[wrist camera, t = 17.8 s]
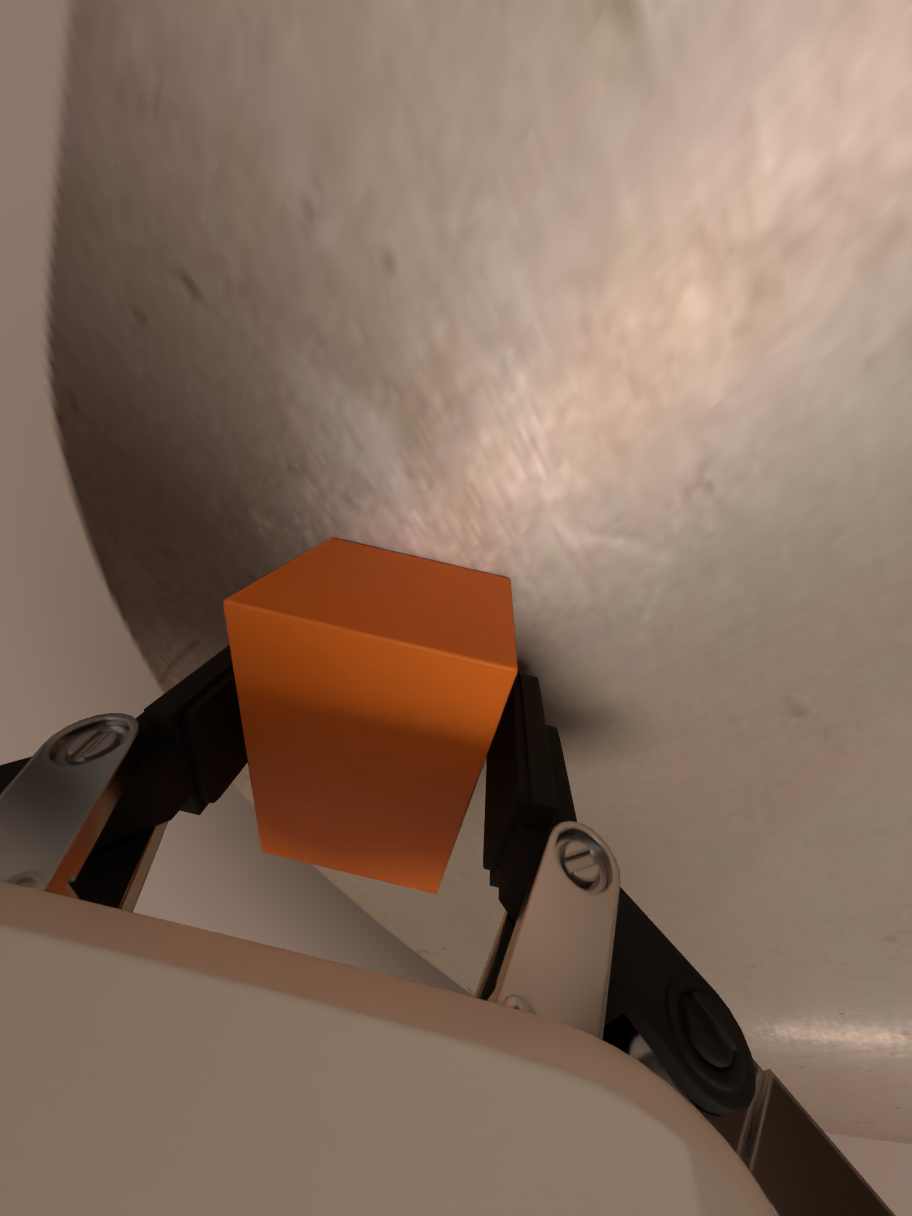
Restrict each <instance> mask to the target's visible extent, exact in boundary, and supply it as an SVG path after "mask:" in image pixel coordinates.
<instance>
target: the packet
mask: <svg viewBox="0 0 912 1216" xmlns="http://www.w3.org/2000/svg"><path fill="white" fill-rule="evenodd" d="M223 605H224V612H225V618H226V625H227V631H228V637H229V644H230V650H231V657H232V663H233V670H234V676H235V682H236V689H237V695H238V702H239V708H240V714H241V721H242V727H243V734H244V740H245V747H246V753H247V759H248V766H249V772H250V779H251V785H252V791H253V798H254V804H255V811H256V816H257V823H258V830H259V836H260V843H261V849H262V851H263V852H265V853H269V854H273V855H278V856H281V857H286V858H290V859H294V860H298V861H302V862H306V863H310V864H315V865H319V866H323V867H327V868H331V869H335V870H339V871H343V872H348V873H352V874H356V875H360V876H364V877H368V878H372V879H377V880H381V881H385V882H389V883H393V884H397V885H401V886H405V887H410V888H414V889H418V890H422V891H426V892H430V893H434V894H435V893H437V891H438V888H439V885H440V883H441V880H442V877H443V874H444V872H445V869H446V866H447V863H448V861H449V858H450V855H451V853H452V850H453V847H454V844H455V842H456V839H457V836H458V833H459V831H460V828H461V825H462V822H463V820H464V817H465V814H466V811H467V809H468V806H469V803H470V800H471V798H472V795H473V792H474V789H475V787H476V784H477V781H478V778H479V776H480V773H481V770H482V768H483V765H484V762H485V759H486V757H487V754H488V751H489V748H490V746H491V743H492V740H493V737H494V735H495V732H496V729H497V726H498V724H499V721H500V718H501V715H502V713H503V710H504V707H505V704H506V702H507V699H508V696H509V693H510V691H511V688H512V685H513V682H514V680H515V677H516V674H517V672H518V665H517V653H516V641H515V630H514V618H513V606H512V594H511V582H510V579H509V578H505V577H500V576H496V575H492V574H487V573H483V572H479V571H474V570H470V569H466V568H461V567H457V566H453V565H448V564H444V563H440V562H435V561H431V560H427V559H422V558H418V557H414V556H409V555H405V554H401V553H396V552H392V551H388V550H383V549H379V548H374V547H370V546H366V545H361V544H357V543H353V542H348V541H344V540H340V539H335V538H330V539H328V540H327V541H325V542H323V543H321V544H320V545H318V546H316V547H315V548H313V549H311V550H309V551H308V552H306V553H304V554H302V555H301V556H299V557H297V558H296V559H294V560H292V561H290V562H289V563H287V564H285V565H283V566H282V567H280V568H278V569H277V570H275V571H273V572H271V573H270V574H268V575H266V576H264V577H263V578H261V579H259V580H258V581H256V582H254V583H252V584H251V585H249V586H247V587H245V588H244V589H242V590H240V591H239V592H237V593H235V594H233V595H232V596H230V597H228V598H226V599H225V600H224V602H223Z"/></svg>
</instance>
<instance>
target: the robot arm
mask: <svg viewBox="0 0 912 1216" xmlns="http://www.w3.org/2000/svg"><path fill="white" fill-rule="evenodd" d="M247 762H248V759H247V753H246V747H245V740H244V734H243V727H242V721H241V714H240V708H239V702H238V695H237V689H236V682H235V676H234V670H233V663H232V657H231V650H230V645H228V646H227V647H226V648H225V649H223V650H222V651H221V652H219V653H218V654H217V655H215V656H214V657H213V658H211V659H210V660H209V661H207V662H206V663H205V664H203V665H202V666H201V667H199V668H198V669H197V670H195V671H194V672H193V673H191V674H190V675H189V676H187V677H186V678H185V679H184V680H182V681H181V682H180V683H178V684H177V685H176V686H174V687H173V688H172V689H170V690H169V691H168V692H166V693H165V694H164V695H162V696H161V697H160V698H158V699H157V700H156V701H154V702H153V703H152V704H150V705H149V706H148V707H146V708H145V709H144V712H143V713H142V714H141V715H139V716H138V717H137V718H136V719H135V718H133V717H132V716H130V715H126V714H120V713H109V714H103V715H97V716H94V717H90V718H87V719H84V720H81V721H79V722H76V723H74V724H72V725H69V726H67V727H66V728H64V729H62V730H61V731H59V732H57V733H56V734H54V735H53V736H52V737H51V738H49V739H48V740H47V741H46V742H45V743H44V744H43V745H42V746H41V748H40V749H39V750H38V751H37V752H36V753H35V754H34V756H32V757H29V758H25V759H22V760H18V761H14V762H11V763H7V764H4V765H0V1216H895V1215H894V1213H893V1212H892V1211H891V1210H890V1209H889V1208H888V1206H887V1205H886V1204H885V1203H884V1202H883V1201H882V1199H881V1198H880V1197H879V1196H878V1195H877V1194H876V1192H875V1191H874V1190H873V1189H872V1188H871V1186H870V1185H869V1184H868V1183H867V1182H866V1181H865V1180H864V1178H863V1177H862V1176H861V1175H860V1174H859V1172H858V1171H857V1170H856V1169H855V1168H854V1167H853V1165H852V1164H851V1163H850V1162H849V1161H848V1160H847V1158H846V1157H845V1156H844V1155H843V1154H842V1153H841V1151H840V1150H839V1149H838V1148H837V1147H836V1146H835V1144H834V1143H833V1142H832V1141H831V1140H830V1139H829V1137H828V1136H827V1135H826V1134H825V1133H824V1132H823V1130H822V1129H821V1128H820V1127H819V1126H818V1125H817V1123H816V1122H815V1121H814V1120H813V1119H812V1118H811V1116H810V1115H809V1114H808V1113H807V1112H806V1110H805V1109H804V1108H803V1107H802V1106H801V1105H800V1103H799V1102H798V1101H797V1100H796V1099H795V1098H794V1096H793V1095H792V1094H791V1093H790V1092H789V1091H788V1089H787V1088H786V1087H785V1086H784V1085H783V1084H782V1082H781V1081H780V1080H779V1079H778V1078H777V1077H776V1075H775V1074H774V1073H773V1072H772V1071H771V1070H770V1069H768V1070H765V1071H763V1070H762V1069H761V1068H760V1067H759V1065H758V1064H757V1063H756V1062H755V1061H754V1059H753V1058H752V1056H751V1052H750V1050H749V1047H748V1045H747V1042H746V1040H745V1037H744V1035H743V1033H742V1030H741V1028H740V1027H739V1025H738V1023H737V1022H736V1020H735V1018H734V1016H733V1015H732V1013H731V1011H730V1010H729V1008H728V1007H727V1006H726V1004H725V1003H724V1002H723V1001H722V999H721V998H720V997H719V995H718V994H717V993H716V992H715V990H714V989H713V988H712V987H711V986H710V985H709V984H708V983H707V982H706V981H705V979H704V978H703V977H702V976H701V975H700V974H699V973H698V972H697V971H696V970H695V968H694V967H693V966H692V965H691V964H690V963H689V962H688V961H687V960H686V959H685V957H684V956H683V955H682V954H681V953H680V952H679V951H678V950H677V949H676V948H675V946H674V945H673V944H672V943H671V942H670V941H669V940H668V939H667V938H666V937H665V935H664V934H663V933H662V932H661V931H660V930H659V929H658V928H657V927H656V926H655V924H654V923H653V922H652V921H651V920H650V919H649V918H648V917H647V916H646V915H645V913H644V912H643V911H642V910H641V909H640V908H639V907H638V906H637V905H636V904H635V902H634V901H633V900H632V899H631V898H630V897H629V896H628V895H627V894H626V893H625V891H624V890H623V889H622V888H621V887H620V871H619V867H618V864H617V861H616V858H615V856H614V855H613V853H612V851H611V849H610V847H609V846H608V845H607V844H606V842H605V841H604V840H603V839H602V838H601V836H600V835H598V834H597V833H596V832H595V831H593V830H592V829H591V828H589V827H587V826H585V825H583V824H581V823H579V822H577V819H576V814H575V810H574V805H573V800H572V795H571V790H570V785H569V780H568V776H567V771H566V766H565V761H564V756H563V751H562V746H561V742H560V737H559V733H558V730H557V728H556V727H554V726H550V725H546V724H545V718H544V711H543V705H542V699H541V693H540V687H539V681H538V678H537V677H534V676H530V675H526V674H522V673H518V675H517V677H515V680H514V682H513V685H512V688H511V691H510V693H509V696H508V699H507V702H506V704H505V707H504V710H503V713H502V715H501V718H500V721H499V724H498V726H497V729H496V732H495V735H494V737H493V740H492V743H491V746H490V748H489V751H488V754H487V771H486V798H485V825H484V852H483V867H484V869H487V870H490V886H494V887H498V888H499V901H500V902H501V904H502V905H503V907H504V908H505V910H506V911H505V914H504V917H503V919H502V922H501V925H500V927H499V930H498V933H497V936H496V938H495V941H494V944H493V946H492V949H491V952H490V954H489V957H488V960H487V962H486V965H485V968H484V970H483V973H482V976H481V978H480V981H479V984H478V986H477V989H476V992H475V995H474V997H470V996H466V995H463V994H459V993H456V992H452V991H448V990H444V989H440V988H436V987H432V986H428V985H424V984H420V983H416V982H412V981H408V980H405V979H401V978H396V977H393V976H389V975H385V974H381V973H377V972H373V971H369V970H365V969H361V968H357V967H353V966H349V965H345V964H341V963H337V962H333V961H329V960H325V959H321V958H317V957H313V956H309V955H305V954H301V953H297V952H293V951H289V950H285V949H281V948H276V947H273V946H268V945H264V944H260V943H256V942H252V941H248V940H244V939H240V938H236V937H232V936H228V935H224V934H220V933H215V932H211V931H208V930H203V929H199V928H195V927H191V926H187V925H183V924H179V923H175V922H171V921H167V920H163V919H158V918H154V917H150V916H146V915H142V914H138V913H134V912H133V910H134V907H135V904H136V903H137V900H138V897H139V895H140V892H141V890H142V887H143V885H144V882H145V880H146V877H147V874H148V872H149V869H150V867H151V864H152V862H153V859H154V857H155V854H156V852H157V849H158V847H159V844H160V841H161V839H162V836H163V834H164V831H165V829H166V826H167V824H168V821H170V820H171V819H172V818H173V817H174V816H175V815H176V814H177V812H178V811H179V810H181V811H184V812H188V813H193V814H197V815H200V814H201V813H202V811H203V810H204V809H205V808H206V806H207V805H208V804H209V803H214V802H216V801H217V800H218V799H219V798H220V797H221V795H222V794H223V793H224V792H225V790H226V789H227V788H228V787H229V785H230V784H231V783H232V781H233V780H234V779H235V778H236V776H237V775H238V774H239V773H240V771H241V770H242V769H243V767H244V766H245V765H246V764H247Z"/></svg>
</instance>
